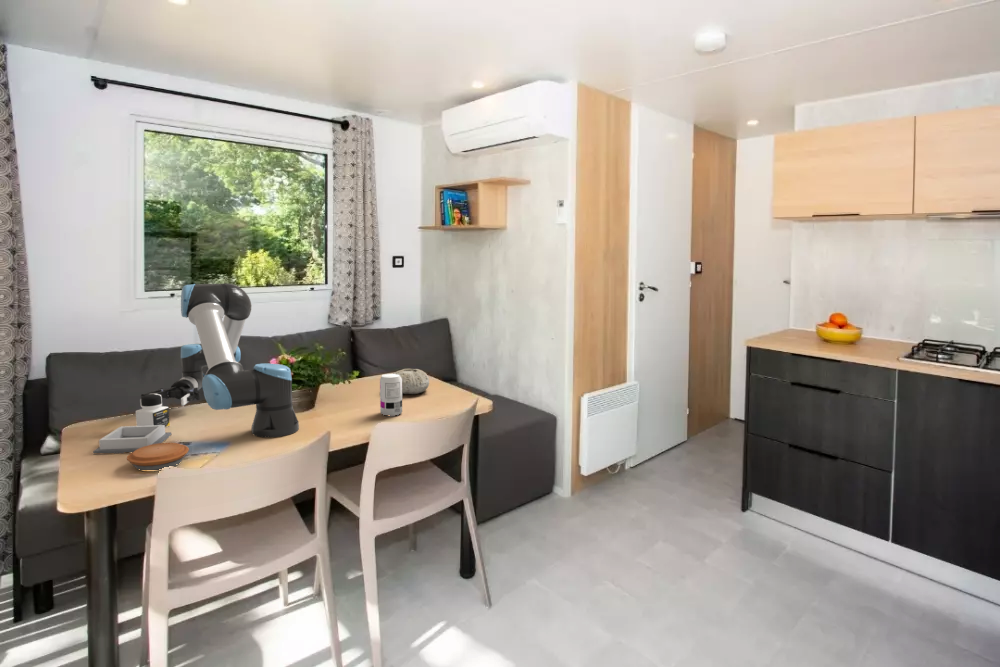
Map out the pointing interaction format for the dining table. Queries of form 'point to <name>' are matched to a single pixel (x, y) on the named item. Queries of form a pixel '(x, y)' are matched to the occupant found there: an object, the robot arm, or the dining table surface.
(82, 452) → the dining table surface
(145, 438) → the dock
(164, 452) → the pie
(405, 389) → the grey squat round piece
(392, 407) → the supplement can
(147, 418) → the medicine bottle
